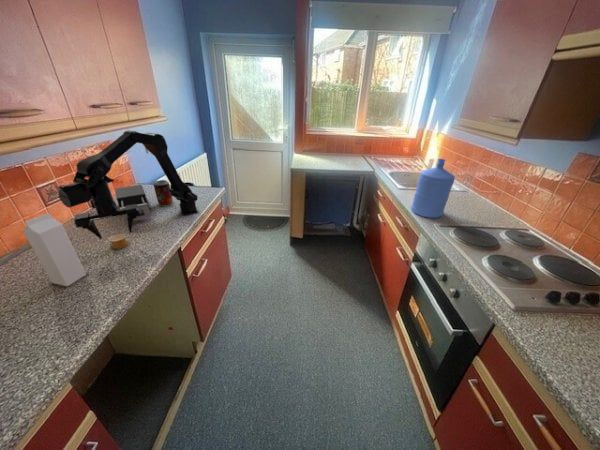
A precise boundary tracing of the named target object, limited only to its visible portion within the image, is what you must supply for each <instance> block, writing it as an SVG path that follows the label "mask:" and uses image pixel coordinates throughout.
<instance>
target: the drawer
mask: <svg viewBox="0 0 600 450" xmlns="http://www.w3.org/2000/svg"><path fill="white" fill-rule="evenodd" d="M133 204H136V205H137V206H138V209H139V213H140V215H139V216H136V217H137V218H134V220H133V222H135V221H139V220H145V219H149V218H151V217H152V216H151V212H150V210H149V209H150V207H149V208H148V206H149V204H148V205H147V203H145V201H144V199H143V196H138V197H132V198H126V199H121V205H122V208H120V207H119V210H122V209H125V206H127V205H133ZM121 216H122V219H123V222H124V223H128V220H127V214H124V215H121Z"/></svg>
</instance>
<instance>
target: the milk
mask: <svg viewBox="0 0 600 450" xmlns="http://www.w3.org/2000/svg"><path fill="white" fill-rule="evenodd" d="M24 224H25V225H26V227H25V228H24V229H23V230H22V232H23V234H24V236H25V237H26V238H25V239H27V241H28V243H29V245H30V246H31V249H32V250H33V251H34V253H35V255H36V257H37V258H38V261H39V262H40V264H41V265H42V267H43V269H44V271H45V272H46V274H47V276H48V278H49V279H50V281H51V283H52V284H55V285H58V286H63V287H69V286H71V285H73V284H74V283H76V282H77V281H78V280H80V279H82V278H83V277H85V276H86V275H87V273H86V271H85V269H84V267H83V265H82V263H81V261H80V259H79V256H78V255H77V253H76V250H75V248H74V247H73V244H72V242H71V240H70V238H69V236H68V233H67V231H66V229H65V228H64V225H63V223H61V222H60V221H58V220H57V219H55V218H54V217H52V215H51V213H50V212H47V213H45V214H41V215H39V216H36V217H34V218H33V217H32V218H31V219H28V220H25V222H24Z"/></svg>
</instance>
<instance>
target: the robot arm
mask: <svg viewBox="0 0 600 450" xmlns="http://www.w3.org/2000/svg"><path fill="white" fill-rule="evenodd" d="M136 144H142V146H144V147H145V148H146V150H147V151H148V152H149V153H150V154H151V155H152V156H154V157H155V159H156V161H157V163H158V164H159V166H160V168H161V170H162V172H163V173H164V175H165V176H166V178H167V180H168V182H169V184H170V189H169V191H170V192H171V195H172V197H174V198H175V199H176V200H177V201H179V203H178V205H179V210H180V212H181V214H183V215H184V216H187V215H191V214H197V213H198V209H197V205H196V201H198V195H197V194H195V193H194V192H192V189H191V187H189V185H188V184H186V183H185V182H184V181H183V180H182V178H181V176H180V174H179V172H178V171H177V169H176V167H175V165H174V163H173V161H172V159H171V157H170V156H169V154H168V147H169V146H168V144H167V142H166V139H165V137H164V136H163V135H162V134H159V133H154V132H153V133H152V132H144V133H142V132H138V131H135V130H125V131H124V132H123V133H122V134H121V135H120V136H118V138H116V139H115V140H113V141H112V142H111V143H110V144H108V145H107V146H106V147H105V148H103V149H102V150H101V151H99V152H98V153H96V154H93V155H90V156H87V157H84V158H83V159H81V160H80V161H78V162H77V163H76V171H75V175H74V177H73V180H72V183H69V184H62V185H58V195H57V196H58V198H59V200H60V202H61V203H62V204H63V205H64V206H65V207H66V208H69V209H70V208H72V207H76V206H80V205H82V204H85V203H88V202H90V206H91V208H92V209H95V210H96V213H95V214H90V212H89V211H87V212H83V213H78V214H75V216H74V219H73V222H74V225H75V228H82V229H83V230H85V229H86V230H87V231H89V232H91V233H93V234H94V235H95V236H96V237H97V238H99V240H103V237H102V234H101V232H100V230H99V228H98V226H97V225H96V223H95V221H97V220H98V221H99V220H102V219H109V218H113V217H119V216H122V215H124V214H127V220H128V222H127V227H128V231H129V233H132V230H133V229H132V228H133V223H134V221H133V220H134V218H137V217H136V216H139V215H140V213H139V209H138V206H137V205H136V204H133V205H127V206H125V209H122V210H120V209H118V206H117V204H116V201H115V200H114V198H113V195H112V192H111V188H110V186H109V184H110V183H113V182H114V181H115V180H114V179H113V178H111V177H109V176H108V174H109V172H110V171H111V169H112V165H113V164H114V163H115V162H116V161H117V160H118V159H119V158H121V157H122V156H123V155H124V154H125V153H127V152H128V151H129V150H130V149H131V148H133V147H134V146H135V145H136Z"/></svg>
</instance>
